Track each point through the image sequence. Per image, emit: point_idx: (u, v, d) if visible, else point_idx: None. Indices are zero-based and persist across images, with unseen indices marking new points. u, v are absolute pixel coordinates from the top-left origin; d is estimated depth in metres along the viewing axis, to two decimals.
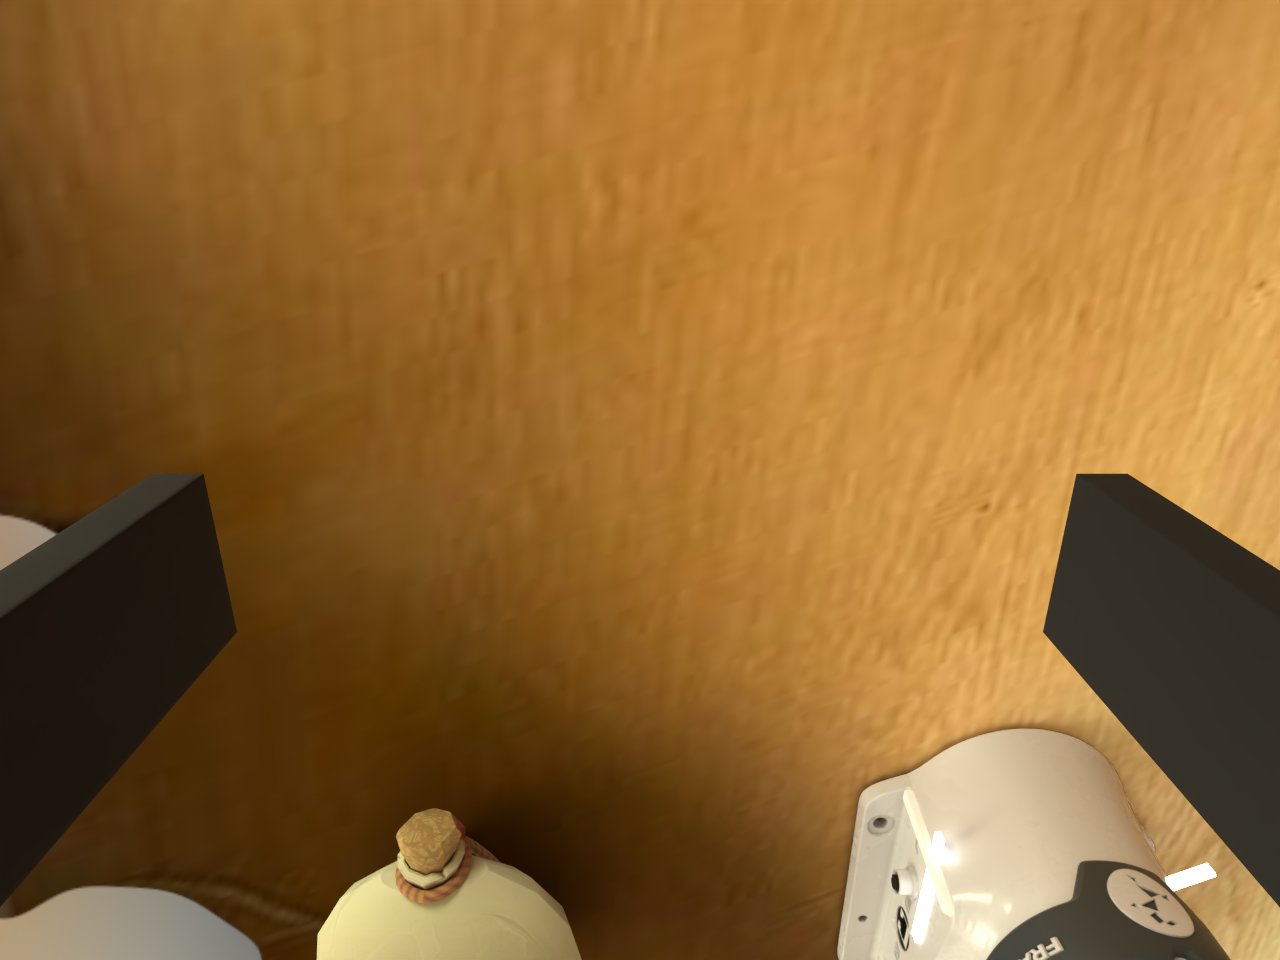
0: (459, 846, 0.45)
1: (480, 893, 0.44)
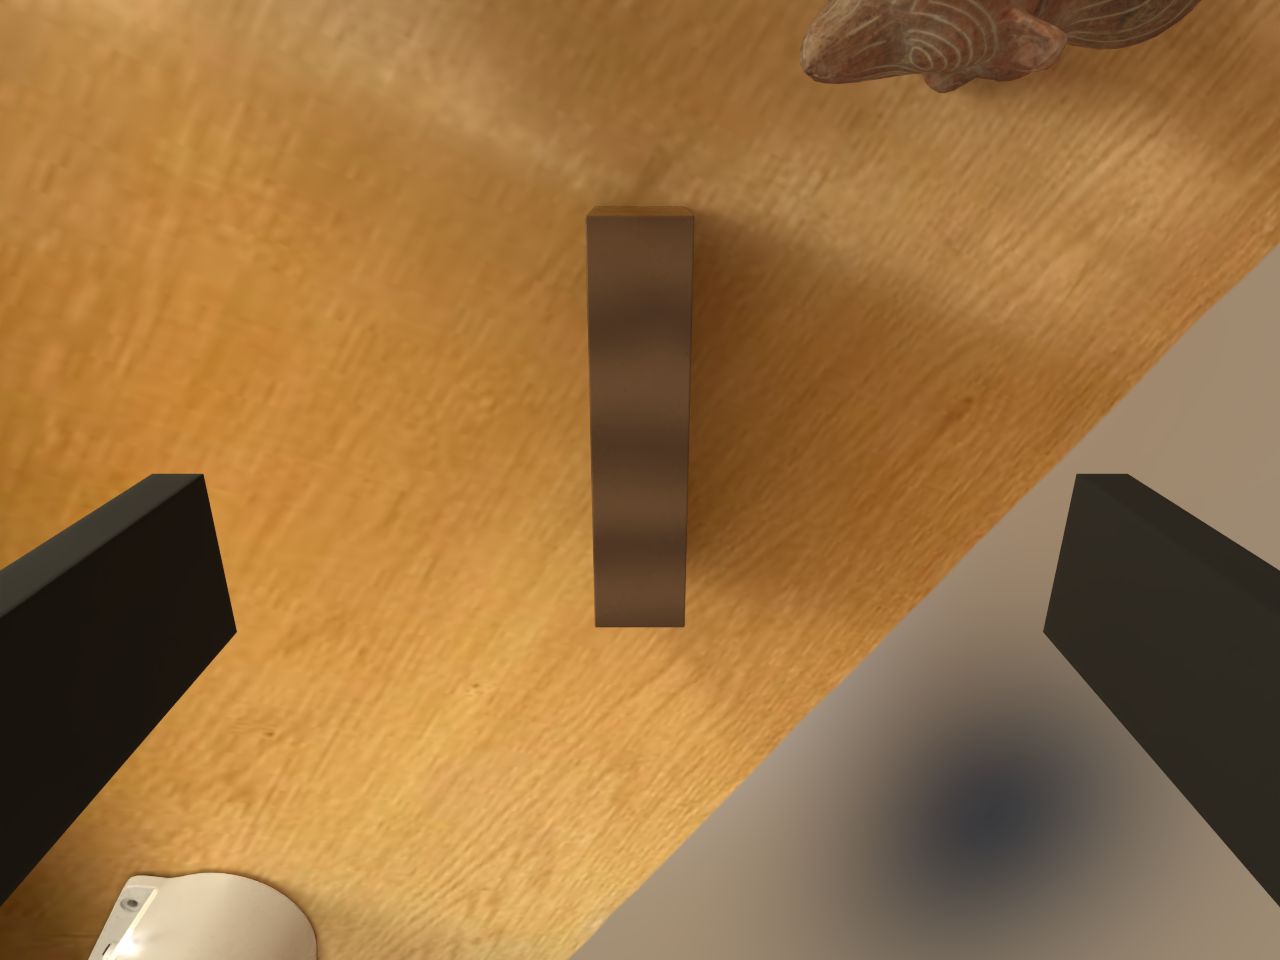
0: None
1: None
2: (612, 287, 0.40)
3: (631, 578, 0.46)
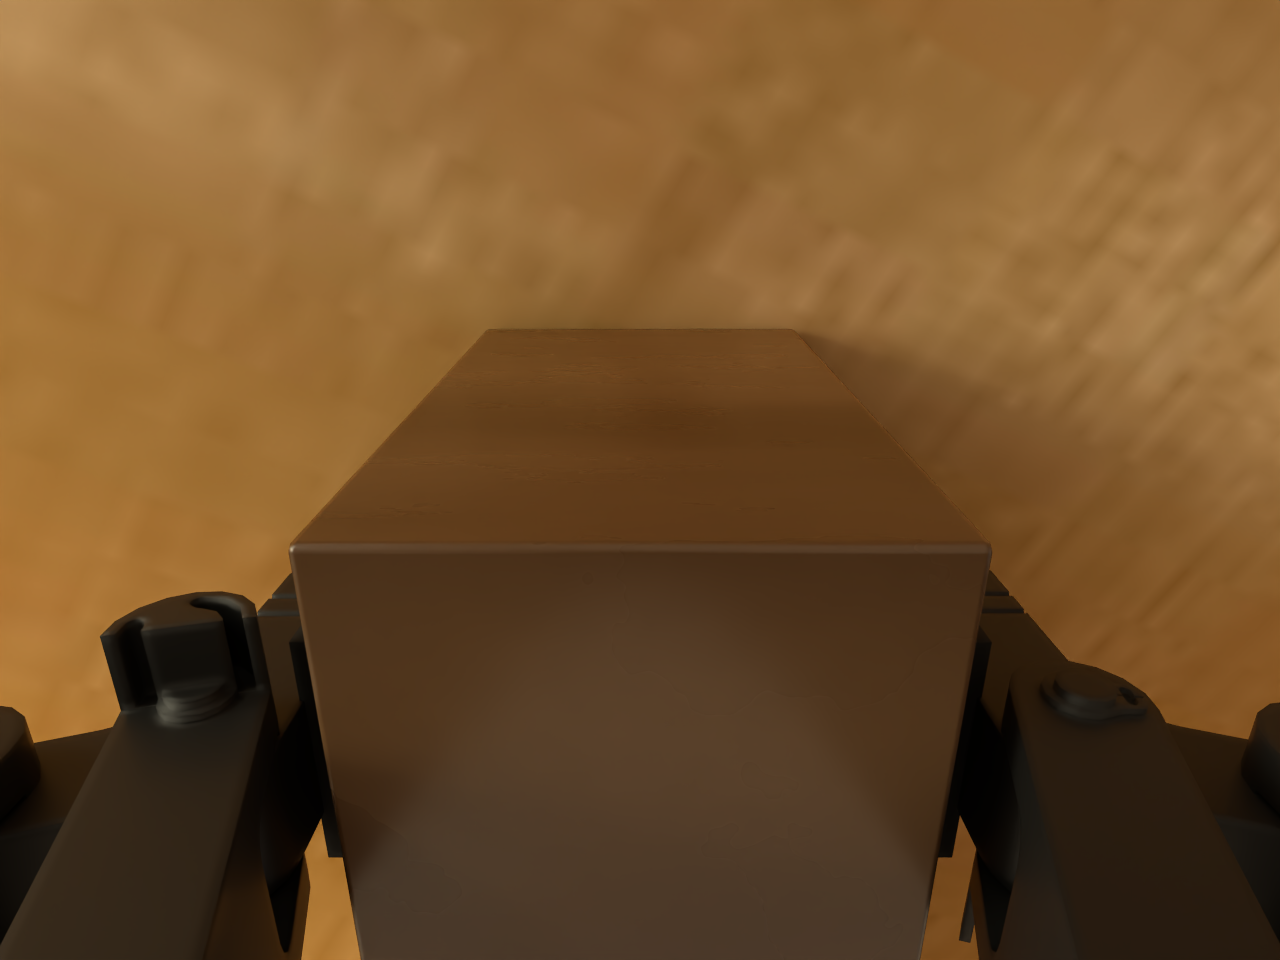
0: None
1: None
2: (491, 890, 0.07)
3: None
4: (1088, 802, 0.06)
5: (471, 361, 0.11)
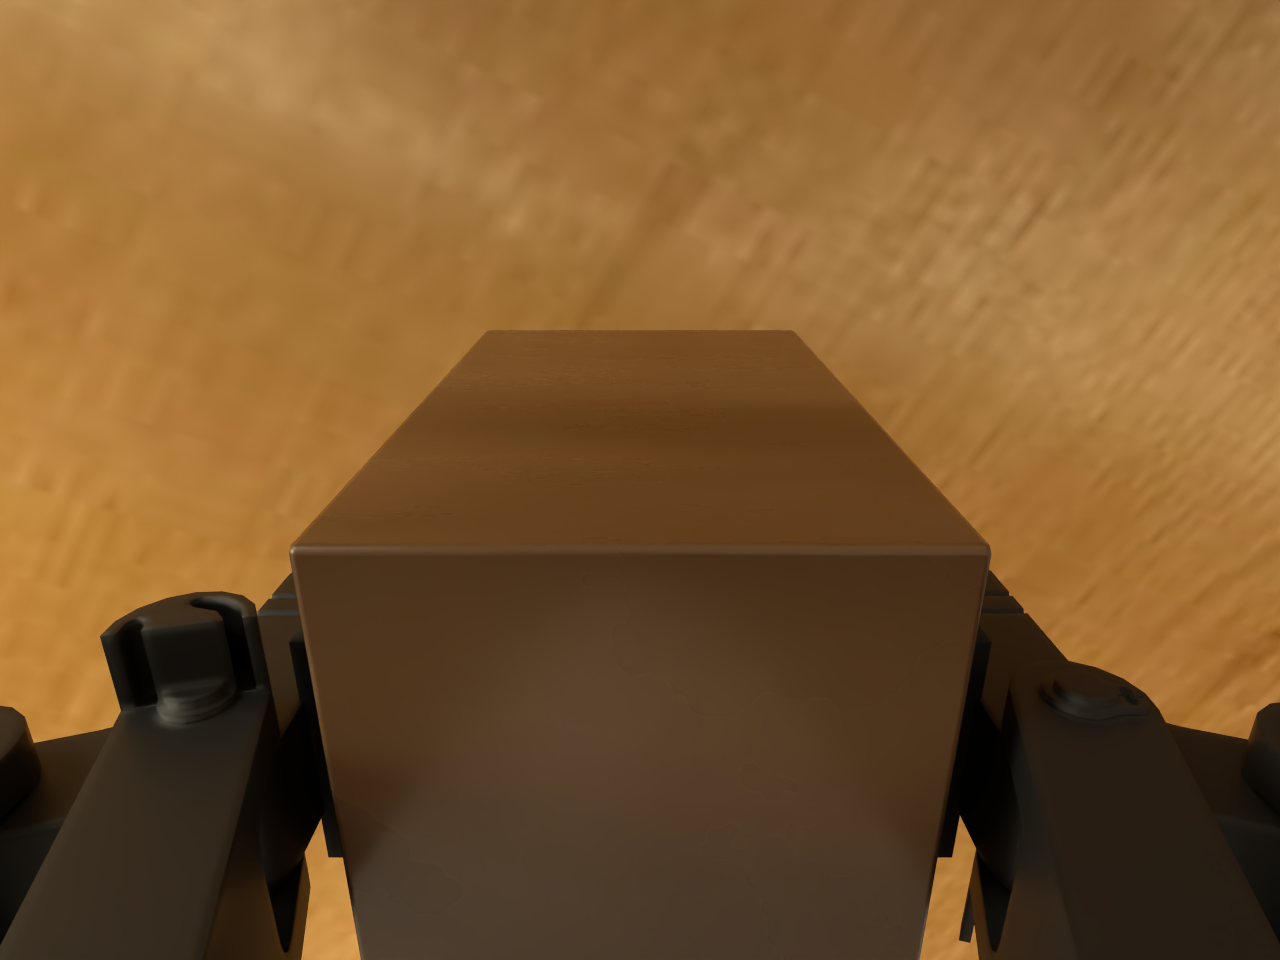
0: None
1: None
2: (491, 890, 0.07)
3: None
4: (1088, 802, 0.06)
5: (471, 362, 0.11)
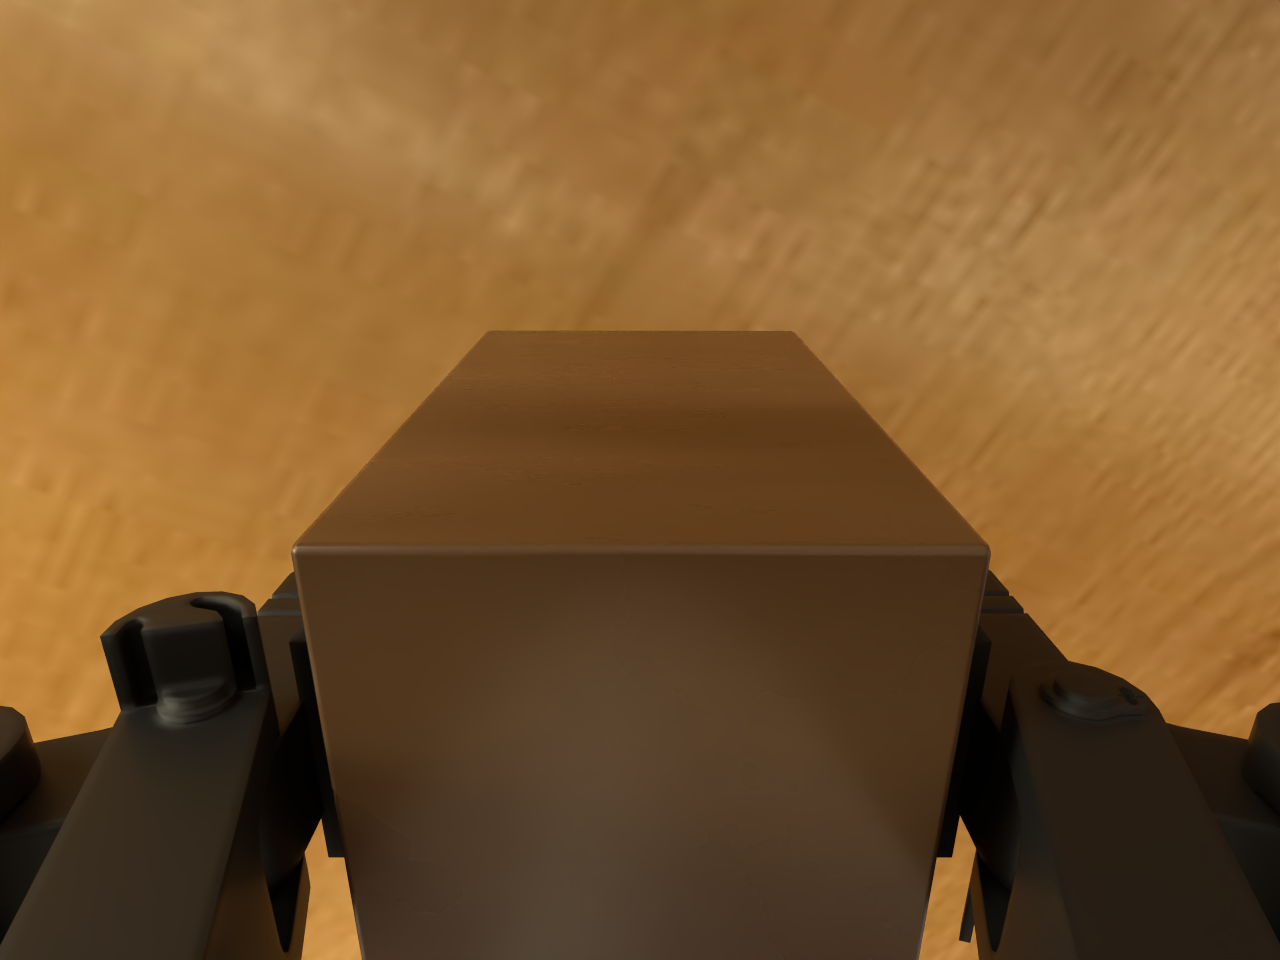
0: None
1: None
2: (490, 889, 0.07)
3: None
4: (1089, 802, 0.06)
5: (472, 362, 0.11)
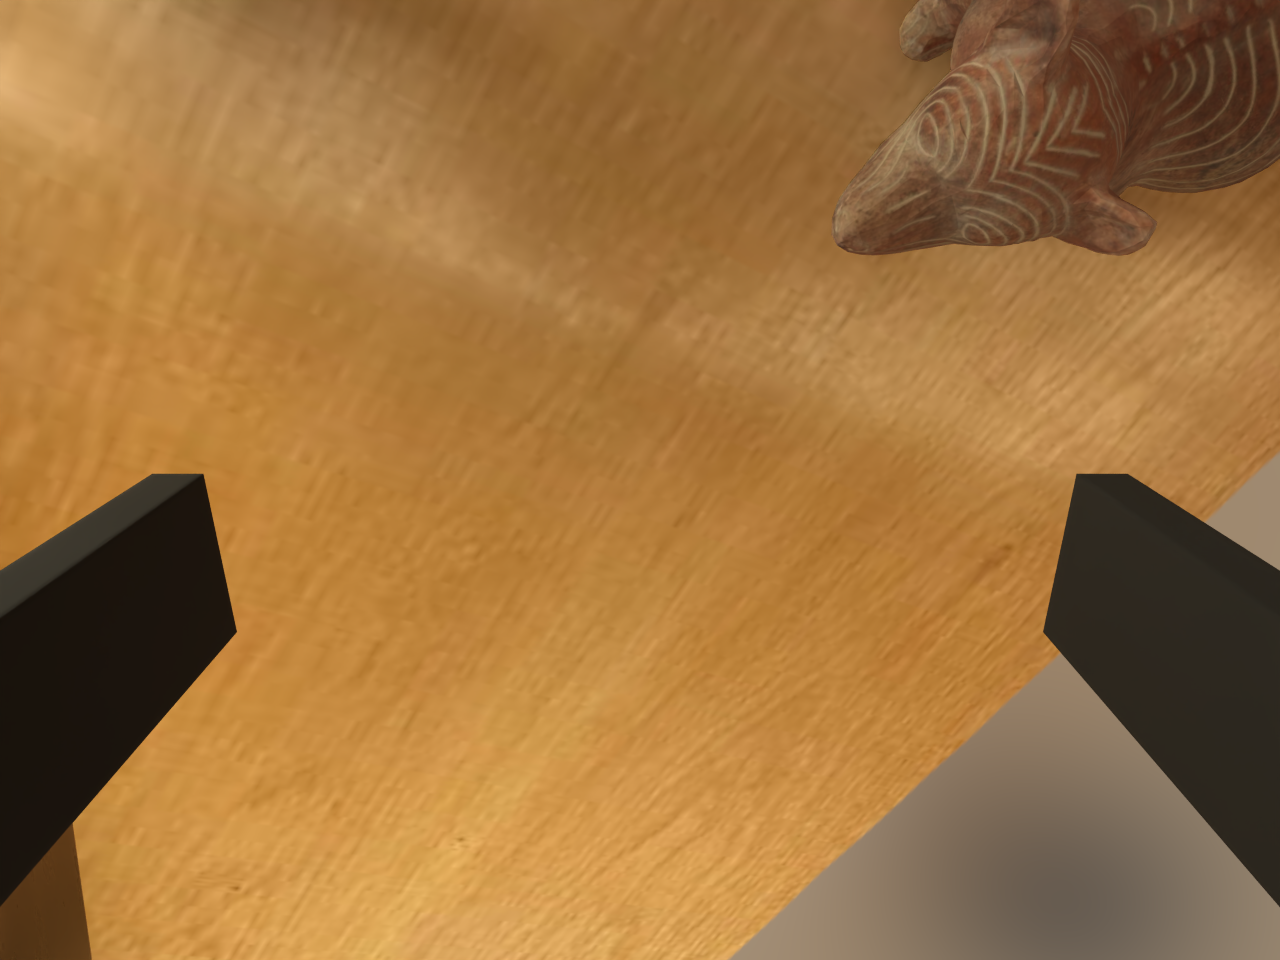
0: None
1: None
2: None
3: None
4: None
5: None
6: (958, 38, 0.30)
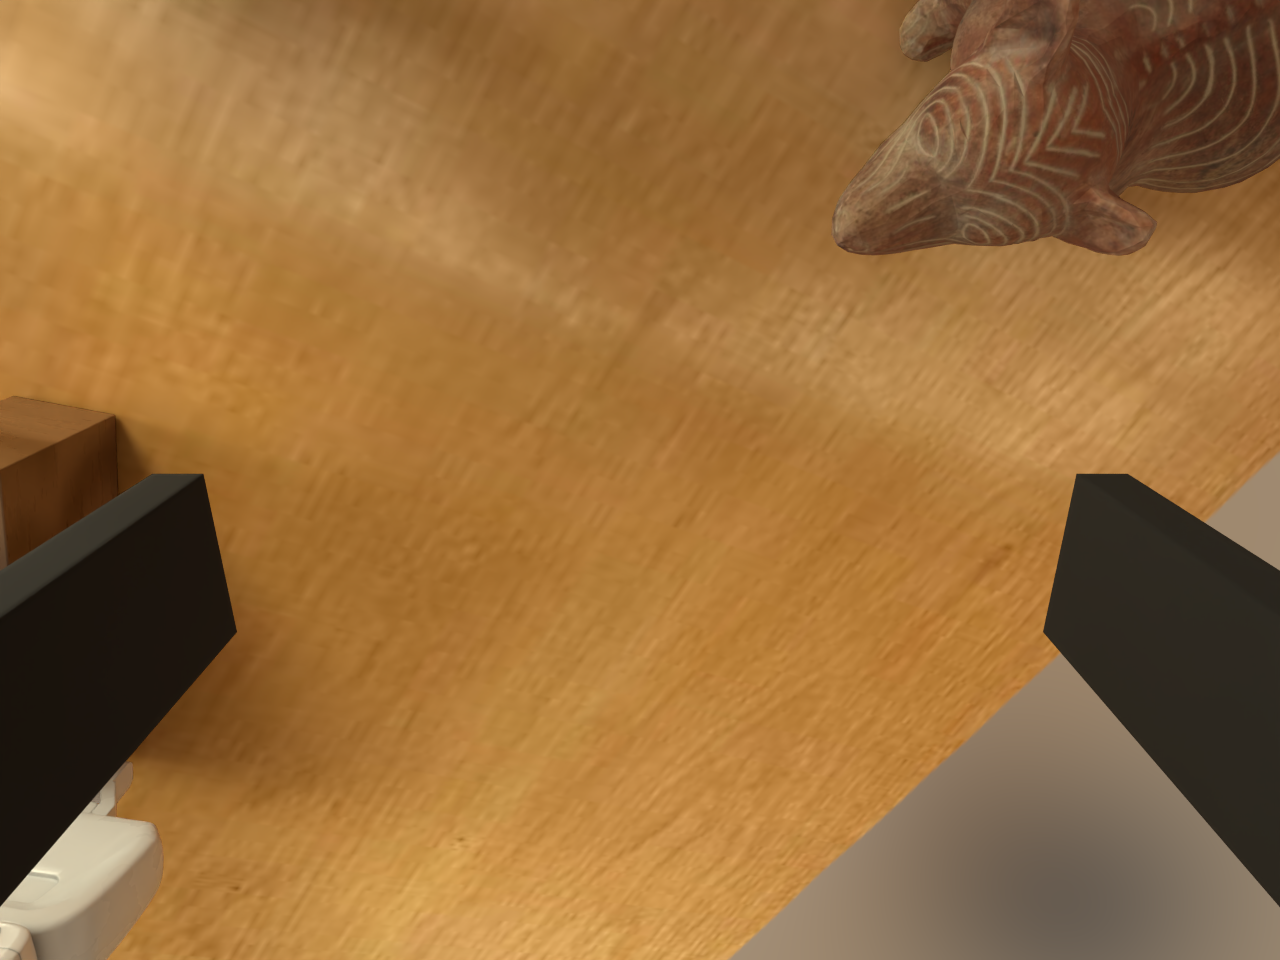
0: None
1: None
2: None
3: None
4: None
5: None
6: (958, 38, 0.30)
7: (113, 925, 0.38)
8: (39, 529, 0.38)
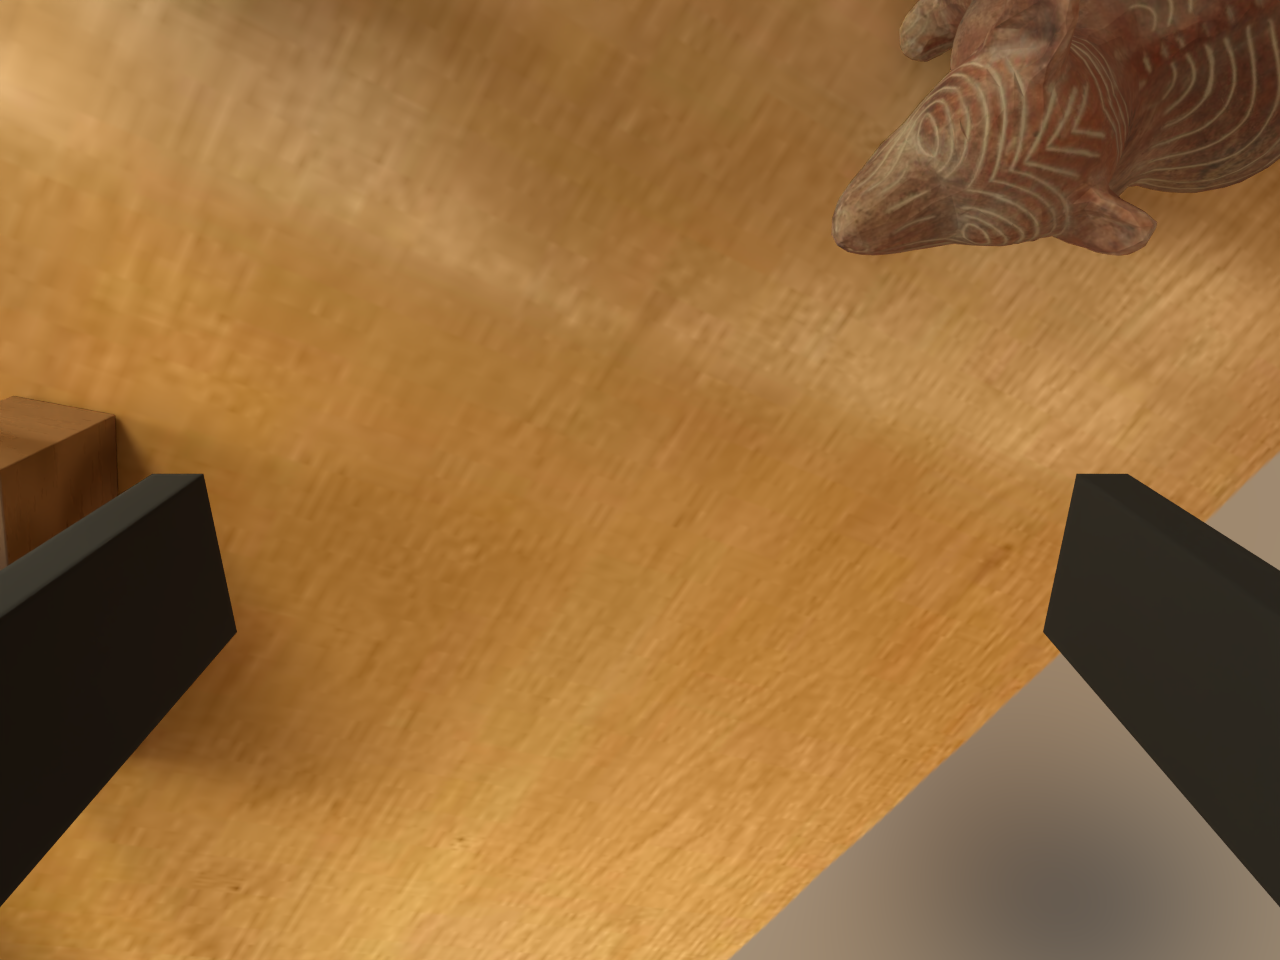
0: None
1: None
2: None
3: None
4: None
5: None
6: (958, 38, 0.30)
7: None
8: (39, 529, 0.38)
